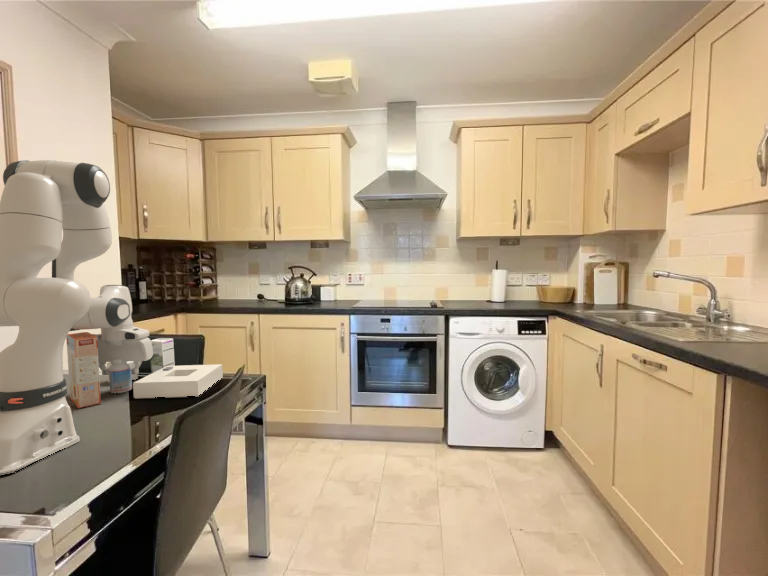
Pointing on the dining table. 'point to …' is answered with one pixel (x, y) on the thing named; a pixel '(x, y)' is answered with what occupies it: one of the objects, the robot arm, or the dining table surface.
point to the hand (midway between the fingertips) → (120, 374)
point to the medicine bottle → (132, 365)
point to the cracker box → (83, 369)
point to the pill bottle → (119, 376)
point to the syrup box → (162, 353)
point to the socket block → (178, 381)
